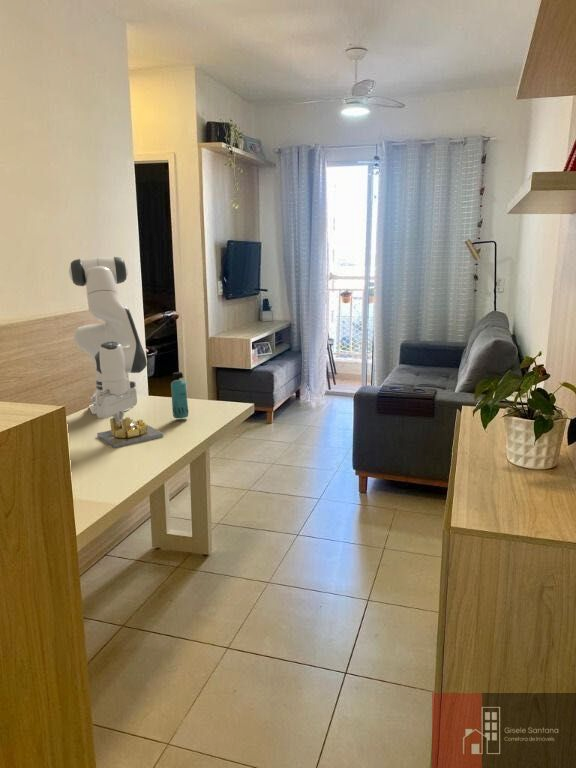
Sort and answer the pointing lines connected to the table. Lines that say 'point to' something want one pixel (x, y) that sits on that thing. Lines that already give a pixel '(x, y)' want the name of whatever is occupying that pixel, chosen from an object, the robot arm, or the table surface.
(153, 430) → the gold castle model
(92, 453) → the table surface
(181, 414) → the beverage bottle
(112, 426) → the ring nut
